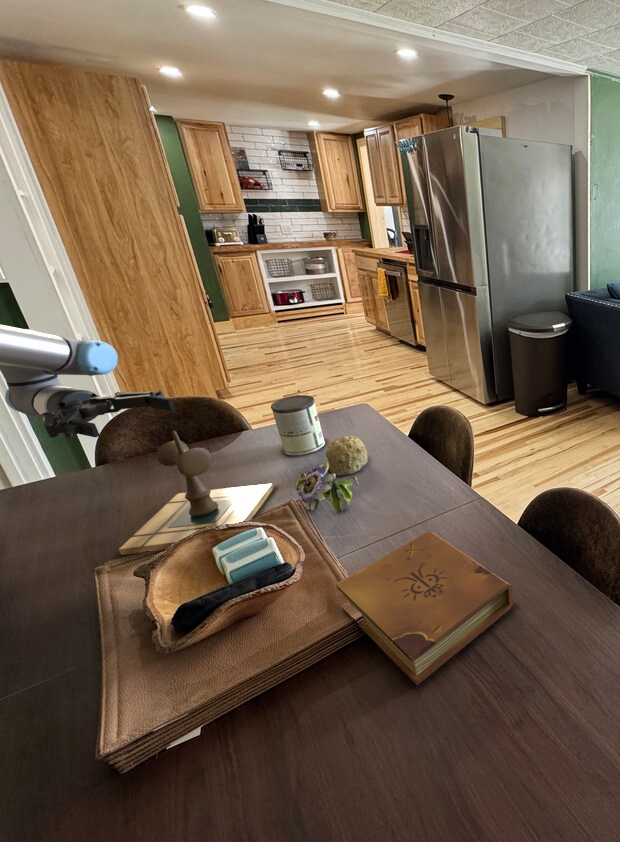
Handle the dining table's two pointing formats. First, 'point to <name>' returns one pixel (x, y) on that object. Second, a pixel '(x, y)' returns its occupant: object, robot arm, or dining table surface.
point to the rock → (346, 455)
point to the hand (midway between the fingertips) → (135, 416)
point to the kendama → (190, 472)
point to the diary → (426, 602)
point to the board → (180, 524)
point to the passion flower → (323, 488)
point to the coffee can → (298, 424)
